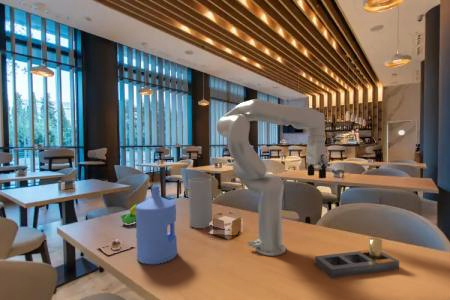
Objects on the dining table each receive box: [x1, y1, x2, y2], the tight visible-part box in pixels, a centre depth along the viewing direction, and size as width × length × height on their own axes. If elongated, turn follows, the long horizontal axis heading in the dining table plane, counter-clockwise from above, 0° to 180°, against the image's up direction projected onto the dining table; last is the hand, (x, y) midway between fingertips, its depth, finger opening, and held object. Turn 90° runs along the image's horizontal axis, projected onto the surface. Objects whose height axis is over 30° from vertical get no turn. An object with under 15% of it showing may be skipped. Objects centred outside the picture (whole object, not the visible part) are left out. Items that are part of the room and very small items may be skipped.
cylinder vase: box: [187, 177, 213, 229], centre depth 140 cm, size 12×12×25 cm
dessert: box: [110, 238, 122, 249], centre depth 112 cm, size 12×12×5 cm
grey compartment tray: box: [314, 249, 400, 280], centre depth 92 cm, size 26×10×3 cm, turn 101°
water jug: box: [135, 185, 178, 265], centre depth 103 cm, size 16×16×28 cm
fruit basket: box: [120, 203, 139, 224], centre depth 146 cm, size 11×9×11 cm
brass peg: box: [368, 237, 383, 261], centre depth 93 cm, size 4×4×9 cm
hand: (316, 176), depth 119 cm, fingers open, 9 cm apart
